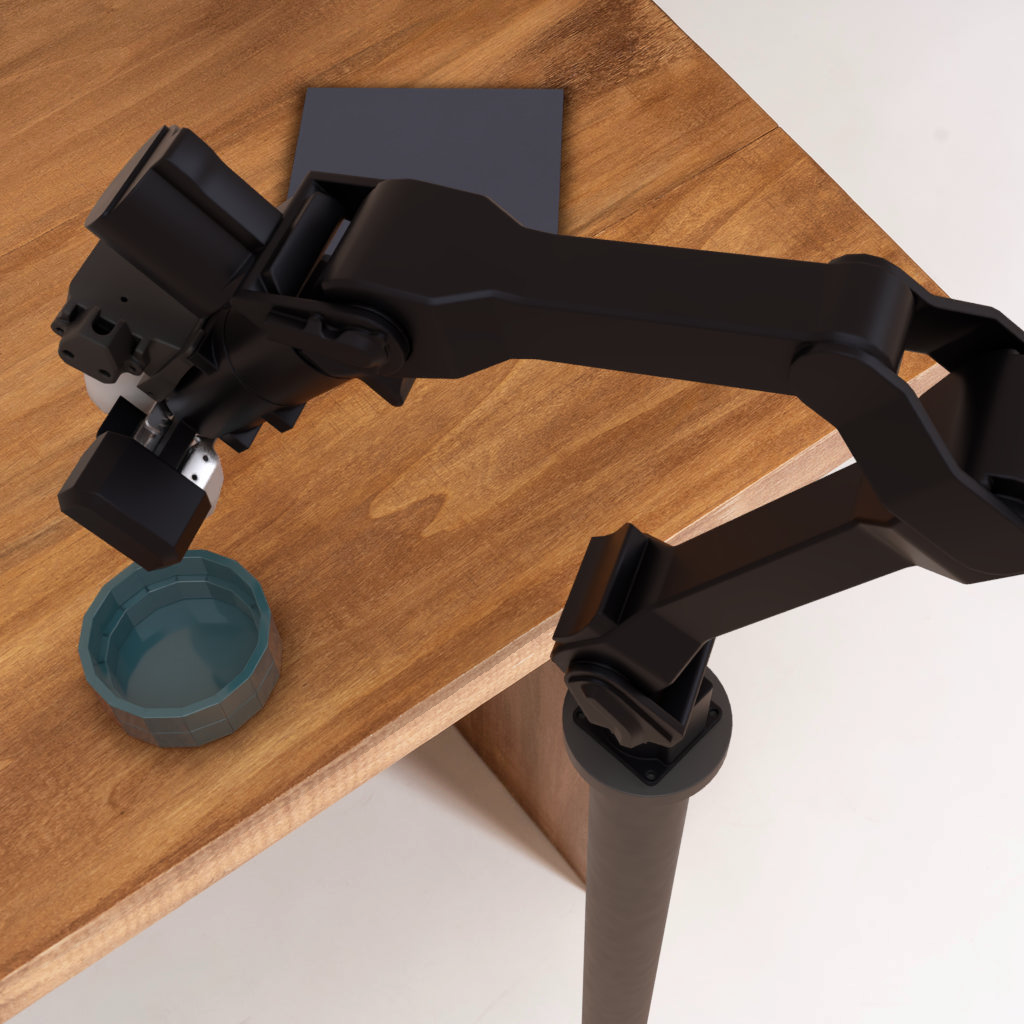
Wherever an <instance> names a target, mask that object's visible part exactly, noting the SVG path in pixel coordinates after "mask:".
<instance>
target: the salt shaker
mask: <svg viewBox="0 0 1024 1024" xmlns="http://www.w3.org/2000/svg"><path fill="white" fill-rule="evenodd" d="M143 375H144V372H143V373H142V374H141V375H140V376H135V375H132V374H130V373H122V374H121V375H120V377H119V378H118V380H117V381H116V383H114V384H104V383H102V382H100V381H98V380H96V379H94V378H92V377H90V376H88V375H87V374H85V373H83V378H84V384H85V387H86V393H87V395H88V397H89V399H90V400H91V402H92V403H93V404H94V405H95V406H96V407H97V408H98V409H99V410H100V411H101V412H103V413H104V414H105V415H108V413H109V412H110V410H111V409H112V407H113V406H114V404H115V402H116V401H117V399H118V398H119V396H120V395H121V396H123V397H124V398H125V399H127V400H128V401H129V402H131V403H132V404H133V405H135V406H136V407H137V408H139V409H140V410H141V411H143V412H144V413H145V414H148V413H149V411H150V410H151V408H152V406H153V405H154V403H155V400H153V399H152V398H151V397H149V396H148V395H147V394H145V393H144V392H143V391H141V390H140V389H139V388H137V387H136V386H137V384H138V383H139V381H140V380H141V378H142V377H143ZM173 416H174V415H173ZM173 416H171V417H169V416H168V417H169V418H170V419H172V417H173ZM196 435H198V434H196ZM194 444H196V441H195V440H194V441H193V443H192V445H194ZM192 445H191V446H192ZM218 458H219V460H218V465H217V467H216V469H215V471H214V473H213V474H212V476H211V478H210V480H209V481H208V483H207V485H206V487H205V488H204V491H206V493H207V495H208V498H209V500H210V503H211V506H212V507H211V509H210V511H209V513H208V514H207V516H206V518H205V520H206V519H208V518H209V517H210V516H212V515H213V514H214V513H215V510H216V507H217V504H218V502H219V499H220V497H221V496H220V495H221V492H222V489H223V484H224V479H225V478H224V477H225V476H224V471H223V466H222V463H221V459H220V456H219V455H218Z"/></svg>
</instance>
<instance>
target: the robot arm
mask: <svg viewBox="0 0 1024 1024" xmlns="http://www.w3.org/2000/svg"><path fill="white" fill-rule="evenodd" d="M344 219H345V220H348V221H350V224H349V226H348V227H347V229H346V231H345V233H344V234H343V236H342V238H341V240H340V241H339V243H338V245H337V247H336V248H335V250H334V252H333V254H332V255H328V254H324V253H325V251H326V250H327V248H328V246H329V244H330V243H331V241H332V239H333V237H334V236H335V234H336V232H337V231H338V229H339V227H340V225H341V224H342V222H343V220H344ZM83 226H84V228H85V229H86V230H88V231H89V232H90V233H91V234H93V235H94V236H95V237H97V238H98V239H99V240H98V242H97V243H96V245H95V246H94V247H93V249H92V250H91V251H90V253H89V254H88V255H87V257H86V259H85V260H84V262H83V263H82V265H81V266H80V268H79V269H78V270H77V272H76V273H75V275H74V276H73V278H72V279H71V281H70V283H69V286H68V290H67V291H68V292H67V296H66V302H65V303H64V304H63V306H62V308H61V309H60V311H59V312H58V313H57V315H56V316H55V318H54V319H53V321H52V322H51V323H50V329H51V330H52V331H53V333H54V334H56V335H57V336H59V337H61V339H60V340H59V341H58V342H59V343H58V347H57V354H58V357H59V358H60V359H61V360H62V362H63V363H64V364H66V365H67V366H69V367H71V368H74V370H77V371H79V372H81V373H83V374H84V373H85V374H87V375H88V376H90V377H92V378H94V379H96V380H98V381H100V382H102V383H104V384H114V383H116V381H117V380H118V378H119V377H120V375H121V374H122V373H130V374H132V375H135V376H140V375H141V374H142V373H143V372H144V375H143V377H142V378H141V380H140V381H139V383H138V384H137V386H136V387H137V388H139V389H140V390H141V391H143V392H144V393H145V394H147V395H148V396H149V397H151V398H152V399H153V400H155V403H154V405H153V406H152V408H151V410H150V411H149V413H148V414H145V413H144V412H143V411H141V410H140V409H139V408H137V407H136V406H135V405H133V404H132V403H131V402H129V401H128V400H127V399H125V398H124V397H123V396H121V395H120V396H119V398H118V399H117V401H116V402H115V404H114V406H113V407H112V409H111V410H110V412H109V413H108V414H106V417H105V418H104V420H103V421H102V423H101V424H100V426H99V427H98V429H97V431H96V433H95V439H94V440H93V442H92V443H90V445H89V446H88V447H87V448H86V449H85V450H84V451H83V453H82V455H81V456H80V458H79V459H78V461H77V463H76V464H75V465H74V468H73V469H72V470H71V472H70V474H69V475H68V477H67V479H66V480H65V482H64V483H63V485H62V486H61V488H60V489H59V491H58V493H57V494H56V496H57V501H58V505H59V509H60V512H61V513H62V514H63V515H65V516H66V517H68V518H70V519H71V520H72V521H74V522H76V523H77V524H78V525H80V526H82V528H84V529H86V530H87V531H88V532H90V533H92V534H93V535H94V536H96V537H97V538H99V539H100V540H102V541H103V542H104V543H106V544H107V545H109V546H110V547H112V548H113V549H115V550H116V551H118V552H119V553H121V554H122V555H124V556H125V557H127V559H129V560H131V562H135V563H137V564H138V565H139V566H141V567H142V568H144V569H145V570H147V571H148V572H150V571H155V570H160V569H164V568H167V567H169V566H172V565H175V564H177V563H180V562H181V561H182V559H183V557H184V555H185V554H186V552H187V550H189V549H190V547H191V545H192V543H193V541H194V539H195V538H196V535H197V534H198V532H199V531H200V528H201V527H202V526H203V523H204V522H205V520H206V519H207V518H206V516H207V514H208V513H209V511H210V509H211V507H212V506H211V503H210V500H209V498H208V495H207V493H206V491H204V488H205V487H206V485H207V483H208V481H209V480H210V478H211V476H212V474H213V473H214V471H215V469H216V467H217V465H218V460H219V458H218V456H219V454H218V453H217V451H216V449H215V444H216V442H217V441H218V439H220V441H222V442H223V443H225V444H226V446H228V447H229V448H231V449H232V450H234V452H236V453H237V454H241V453H243V452H246V451H247V450H249V449H250V448H251V447H252V444H253V443H254V440H255V439H256V437H257V435H258V434H259V432H260V430H261V428H262V427H263V425H264V424H265V423H268V424H269V425H270V426H272V427H273V428H274V429H275V430H277V431H278V432H279V433H280V434H284V433H285V432H288V431H291V430H292V429H293V428H294V427H295V425H296V424H297V421H298V420H299V418H300V415H301V414H302V412H303V410H304V408H306V407H305V406H306V405H307V403H308V402H310V401H311V400H313V399H315V398H317V397H319V396H321V395H324V394H325V393H328V392H329V391H332V390H333V389H336V388H338V387H340V386H342V385H344V384H346V383H348V382H350V381H352V380H354V379H357V380H359V381H361V382H362V383H364V384H365V385H366V386H368V387H369V389H371V390H372V391H373V392H375V393H376V394H377V395H378V396H380V398H382V399H383V400H384V401H385V402H386V403H388V404H389V405H391V406H392V407H394V408H400V407H402V406H403V405H404V404H405V402H406V400H407V398H408V396H409V394H410V392H411V390H412V388H413V386H414V384H415V382H416V380H417V379H428V380H430V379H432V380H433V379H434V380H458V379H459V380H460V379H463V378H466V377H467V376H471V375H473V374H476V373H479V372H481V371H484V370H486V369H488V368H491V367H494V366H497V365H499V364H502V363H504V362H507V361H511V360H535V361H536V360H537V361H545V362H551V363H558V364H559V363H560V364H566V365H573V366H581V367H587V368H593V369H601V370H608V371H615V372H621V373H629V374H636V375H643V376H650V377H658V378H663V379H664V378H665V379H671V380H679V381H686V382H692V383H698V384H699V383H701V384H706V385H714V386H722V387H727V388H728V387H729V388H733V389H741V390H749V391H756V392H764V393H769V394H770V393H771V394H778V395H779V394H780V395H783V396H791V397H796V398H797V399H798V400H799V401H800V402H801V403H803V404H804V405H805V406H807V408H809V409H810V410H811V411H813V412H814V413H815V414H817V415H818V416H819V417H821V418H822V419H823V420H825V421H826V422H827V423H829V424H830V425H831V426H832V427H834V428H835V429H836V430H837V432H838V434H839V435H840V437H841V439H842V440H843V442H844V444H845V445H846V447H847V449H848V450H849V452H850V454H851V456H852V457H853V459H854V460H855V462H854V463H851V464H849V465H847V466H845V467H842V468H840V469H837V470H836V471H834V472H832V473H830V474H827V475H825V476H823V477H821V478H819V479H816V480H813V481H812V482H810V483H808V484H806V485H804V486H801V487H800V488H797V489H795V490H793V491H791V492H788V493H786V494H784V495H782V496H780V497H778V498H775V499H773V500H771V501H768V502H767V503H765V504H763V505H761V506H758V507H756V508H754V509H752V510H750V511H748V512H746V513H743V514H740V515H739V516H737V517H735V518H733V519H730V520H728V521H726V522H724V523H722V524H720V525H717V526H715V527H713V528H711V529H708V530H706V531H704V532H702V533H700V534H698V535H696V536H694V537H692V538H689V539H688V540H685V541H683V542H681V543H679V544H676V545H671V544H669V543H667V542H665V541H663V540H662V539H660V538H657V537H655V536H654V535H652V534H649V533H647V532H642V531H641V530H640V529H639V528H638V527H637V526H636V525H635V524H633V523H632V522H628V521H626V522H625V523H623V524H622V526H620V527H619V528H618V529H616V530H615V531H614V532H612V533H609V534H605V535H597V536H591V537H590V540H589V542H588V545H587V547H586V550H585V553H584V555H583V558H582V559H581V563H580V565H579V568H578V570H577V573H576V575H575V578H574V581H573V583H572V586H571V588H570V591H569V594H568V596H567V598H566V601H565V603H564V606H563V609H562V611H561V614H560V617H559V619H558V621H557V624H556V627H555V628H554V631H553V635H552V637H551V639H552V641H554V644H553V647H552V649H551V651H550V654H549V658H550V659H549V660H551V662H552V663H554V664H555V665H556V667H558V669H559V670H560V671H561V672H562V673H564V676H563V682H564V684H565V686H566V687H567V689H569V691H570V692H571V694H572V695H573V697H574V698H575V700H576V702H577V703H578V705H579V706H578V707H577V708H576V709H575V710H574V712H573V721H574V722H575V723H576V724H577V725H578V726H579V727H580V728H581V729H582V730H584V731H585V732H586V733H587V734H588V735H589V736H590V737H592V738H593V739H594V740H595V741H596V742H597V743H598V744H600V745H601V746H602V747H603V748H604V749H605V750H606V751H608V752H609V753H610V754H611V755H612V756H613V757H614V758H616V759H617V760H618V761H619V762H620V763H621V764H623V765H624V766H625V767H626V768H627V769H628V770H629V771H631V772H632V773H633V774H634V775H635V776H636V777H637V778H639V779H640V780H641V781H642V782H643V783H644V784H645V785H647V786H651V787H652V786H655V785H657V784H658V783H659V782H660V781H661V780H662V779H663V778H664V777H665V776H666V775H667V774H668V773H669V772H670V771H671V770H672V769H673V768H674V767H675V766H676V765H677V764H678V763H679V762H680V761H681V760H682V759H683V758H684V757H685V756H686V755H687V754H688V753H689V751H690V750H691V749H692V748H693V747H694V746H695V745H696V744H697V743H698V742H699V741H700V740H701V739H702V738H703V737H704V736H705V735H706V734H707V733H708V732H709V731H710V730H711V729H712V728H713V727H714V726H715V725H716V724H717V723H718V722H719V721H720V720H721V718H722V709H721V708H720V707H719V706H718V705H717V704H716V703H714V702H713V701H712V700H711V695H712V689H713V684H712V683H711V682H710V681H709V680H708V679H707V678H706V677H705V676H704V673H705V670H706V667H707V666H708V664H709V661H710V657H711V655H712V651H713V648H714V646H715V642H716V639H717V638H718V637H720V636H722V635H723V636H724V635H726V634H729V633H732V632H734V631H738V630H739V629H740V630H741V629H742V628H745V627H748V626H751V625H754V624H756V623H759V622H762V621H764V620H767V619H770V618H773V617H775V616H778V615H781V614H784V613H787V612H789V611H792V610H795V609H797V608H800V607H804V606H805V605H808V604H811V603H814V602H817V601H819V600H822V599H825V598H828V597H831V596H833V595H836V594H839V593H841V592H844V591H848V590H850V589H852V588H855V587H858V586H860V585H863V584H866V583H868V582H871V581H872V582H873V581H874V580H876V579H880V578H882V577H885V576H887V575H891V574H894V573H896V572H899V571H902V570H905V569H907V568H912V567H919V568H922V569H924V570H927V571H929V572H931V573H935V574H937V575H940V576H942V577H945V578H947V579H950V580H952V581H955V582H957V583H959V584H962V585H974V584H979V583H984V582H991V581H996V580H1000V579H1006V578H1012V577H1018V576H1022V575H1023V576H1024V330H1023V328H1021V327H1020V326H1018V324H1017V323H1015V322H1014V321H1013V320H1012V319H1010V318H1009V317H1008V316H1007V315H1006V314H1004V313H1003V312H1002V311H1001V310H999V309H997V308H995V307H993V306H991V305H986V304H981V303H975V302H971V301H965V300H962V299H961V300H960V299H955V298H951V297H947V296H941V295H936V294H933V293H931V292H930V291H929V290H927V288H925V287H924V286H923V285H921V284H920V283H919V282H918V281H916V279H915V278H913V277H912V276H910V275H909V274H908V273H907V272H906V271H904V270H903V269H902V268H901V267H900V266H898V265H896V264H895V263H893V262H892V261H889V260H888V259H886V258H884V257H882V256H876V255H873V254H868V253H846V254H843V255H840V256H838V257H835V258H833V259H830V261H829V262H828V263H827V262H819V261H818V262H817V261H809V260H802V259H801V260H799V259H791V258H780V257H773V256H772V257H771V256H762V255H754V254H753V255H752V254H744V253H735V252H725V251H717V250H716V251H715V250H709V249H708V250H706V249H705V250H704V249H698V248H697V249H696V248H688V247H678V246H669V245H660V244H651V243H643V242H641V243H640V242H634V241H633V242H632V241H622V240H613V239H604V238H594V237H585V236H576V235H569V234H559V233H558V234H552V233H548V232H544V231H540V230H535V229H531V228H527V227H525V226H524V225H523V224H521V223H520V222H519V221H518V220H517V219H515V218H514V217H513V216H512V215H510V214H509V213H508V212H507V211H506V210H504V209H503V208H502V207H501V206H500V205H498V204H497V203H496V202H495V201H494V200H492V199H491V198H489V197H488V196H484V195H481V194H476V193H472V192H468V191H464V190H459V189H455V188H451V187H447V186H442V185H438V184H434V183H430V182H425V181H421V180H415V179H409V178H406V179H389V180H386V179H377V178H369V177H361V176H352V175H344V174H336V173H328V172H319V171H308V173H307V174H306V176H305V178H304V179H303V181H302V182H301V184H300V186H299V187H298V189H297V191H296V192H295V194H294V196H292V197H291V198H290V199H288V200H287V199H286V200H285V201H283V202H282V203H280V204H279V205H277V206H276V207H275V206H274V205H273V204H272V203H271V202H270V201H268V199H266V198H265V197H264V196H263V195H262V194H261V193H259V192H258V191H257V190H256V189H255V188H254V187H252V186H251V185H250V184H249V183H248V182H247V181H246V180H244V179H243V178H242V177H241V176H240V175H239V174H238V173H237V172H236V171H234V170H233V169H232V168H230V167H229V166H228V165H227V164H226V163H225V162H224V161H223V160H222V158H221V157H219V155H218V154H217V152H216V151H215V150H214V149H213V148H211V146H210V145H209V144H208V143H207V142H206V141H204V140H203V138H201V137H200V136H199V135H197V134H196V133H195V132H194V131H193V130H192V129H190V127H189V128H188V127H184V126H183V127H181V128H180V126H178V125H177V124H172V125H170V126H167V125H166V124H163V125H162V126H161V127H160V128H158V129H157V130H156V131H155V132H154V133H153V134H152V135H151V136H150V137H149V138H148V140H146V141H145V142H144V144H142V146H140V148H139V149H138V150H137V151H136V152H135V153H134V155H133V156H132V157H131V158H130V159H129V160H128V161H127V163H125V165H124V166H123V167H122V168H121V170H120V171H119V172H118V173H117V174H116V176H115V177H114V178H113V179H112V181H111V182H110V183H109V185H108V186H107V187H106V188H105V190H104V191H103V192H102V194H101V195H100V197H99V198H98V200H97V201H96V203H95V204H94V205H93V206H92V208H91V210H90V211H89V213H88V215H87V217H86V219H85V221H84V224H83ZM905 352H911V353H917V354H923V355H927V356H928V357H930V358H931V359H932V360H933V361H935V363H937V364H938V365H939V366H941V367H942V368H943V369H945V370H946V371H947V372H948V374H947V375H945V376H944V377H943V378H941V379H940V380H939V381H937V382H936V383H935V384H933V385H932V386H930V387H929V388H928V389H927V390H926V391H924V392H923V393H922V394H921V395H920V396H918V395H917V393H916V392H915V390H914V389H913V388H912V387H911V385H910V384H909V383H908V381H906V380H904V379H903V378H902V377H900V376H899V373H900V369H901V365H902V363H903V358H904V354H905ZM173 415H174V416H173ZM168 416H169V417H171V416H173V417H172V419H170V418H169V417H168ZM196 434H198V435H196ZM194 440H195V441H196V444H194V445H192V443H193V441H194ZM191 445H192V446H191ZM205 518H206V519H205ZM712 711H715V712H716V713H717V714H718V715H717V716H712V715H710V712H712ZM579 714H584V715H585V718H583V719H580V718H578V717H577V716H578V715H579ZM649 774H652V775H654V776H655V779H653V780H650V779H648V778H647V776H648V775H649Z"/></svg>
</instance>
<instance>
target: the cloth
mask: <svg viewBox="0 0 1024 1024" xmlns="http://www.w3.org/2000/svg"><path fill="white" fill-rule="evenodd" d="M564 95H565V93H564V89H563V88H464V87H463V88H460V87H459V88H450V87H449V88H446V87H444V88H443V87H439V88H438V87H436V88H435V87H307V88H306V93H305V98H304V103H303V108H302V115H301V120H300V125H299V131H298V136H297V142H296V148H295V152H294V159H293V163H292V169H291V174H290V180H289V184H288V185H289V186H288V190H287V196H286V201H287V200H288V199H290V198H291V197H292V196H294V194H295V192H296V191H297V189H298V187H299V186H300V184H301V182H302V181H303V179H304V178H305V176H306V174H307V173H308V171H319V172H328V173H336V174H344V175H352V176H361V177H369V178H377V179H386V180H389V179H406V178H409V179H415V180H421V181H425V182H430V183H434V184H438V185H442V186H447V187H451V188H455V189H459V190H464V191H468V192H472V193H476V194H481V195H484V196H488V197H489V198H491V199H492V200H494V201H495V202H496V203H497V204H498V205H500V206H501V207H502V208H503V209H504V210H506V211H507V212H508V213H509V214H510V215H512V216H513V217H514V218H515V219H517V220H518V221H519V222H520V223H521V224H523V225H524V226H525V227H527V228H531V229H535V230H540V231H544V232H548V233H552V234H559V219H560V218H559V216H560V215H559V214H560V191H561V190H560V189H561V167H562V166H561V165H562V145H563V143H562V140H563V119H564V118H563V117H564ZM349 224H350V221H348V220H345V219H344V220H343V222H342V224H341V225H340V227H339V229H338V231H337V232H336V234H335V236H334V237H333V239H332V241H331V243H330V244H329V246H328V248H327V250H326V251H325V253H324V254H328V255H332V254H333V252H334V250H335V248H336V247H337V245H338V243H339V241H340V240H341V238H342V236H343V234H344V233H345V231H346V229H347V227H348V226H349Z"/></svg>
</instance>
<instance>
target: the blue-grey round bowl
mask: <svg viewBox="0 0 1024 1024" xmlns="http://www.w3.org/2000/svg"><path fill="white" fill-rule="evenodd" d="M94 597H95V598H94V599H93V600H92V602H91V604H90V605H89V607H88V608H87V610H86V612H85V613H84V614H83V617H82V622H81V623H82V624H81V628H80V634H79V639H78V645H77V653H78V657H79V660H80V664H81V667H82V671H83V675H84V678H85V681H86V683H87V684H88V686H89V688H90V689H91V690H92V692H93V694H94V695H95V697H96V699H97V700H98V702H99V703H100V705H101V706H102V708H103V710H104V711H105V713H106V714H107V715H108V716H109V717H110V718H111V719H112V720H113V721H114V722H115V723H116V724H117V725H118V726H119V728H121V729H122V730H123V732H124V733H126V735H128V736H129V737H132V738H134V739H137V740H140V741H142V742H145V743H148V744H150V745H152V746H155V747H158V748H198V747H201V746H203V745H206V744H208V743H211V742H214V741H216V740H219V739H221V738H224V737H227V736H230V735H232V734H234V733H235V732H236V731H238V730H239V729H240V728H242V726H243V725H245V724H246V723H247V722H248V721H249V720H251V719H252V718H253V717H254V716H255V715H256V714H257V713H259V711H261V710H262V709H263V708H264V706H265V704H266V703H267V701H268V699H269V697H270V695H271V693H272V692H273V690H274V689H275V687H276V685H277V683H278V682H279V681H278V680H279V679H280V677H281V667H282V657H283V640H282V638H281V635H280V632H279V630H278V627H277V624H276V621H275V618H274V615H273V613H272V609H271V607H270V605H269V603H268V599H267V597H266V594H265V591H264V589H263V586H262V584H261V583H260V581H259V580H258V579H257V578H256V576H254V575H253V574H252V573H251V572H250V571H249V570H247V569H246V567H245V566H243V565H242V564H241V563H240V562H239V561H237V560H236V559H233V558H230V557H227V556H225V555H222V554H219V553H216V552H214V551H210V550H207V549H203V548H201V549H200V548H199V549H188V550H187V552H186V554H185V555H184V557H183V559H182V561H181V562H180V563H177V564H175V565H172V566H169V567H167V568H164V569H160V570H155V571H150V572H148V571H147V570H145V569H144V568H142V567H141V566H139V565H138V564H137V563H135V562H134V561H132V563H130V564H129V565H128V566H126V567H125V568H124V569H123V570H121V571H119V572H118V574H116V575H115V576H113V577H112V578H111V579H110V580H108V581H107V582H106V583H105V584H103V586H101V588H100V589H99V591H98V592H97V594H96V596H94Z"/></svg>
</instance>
